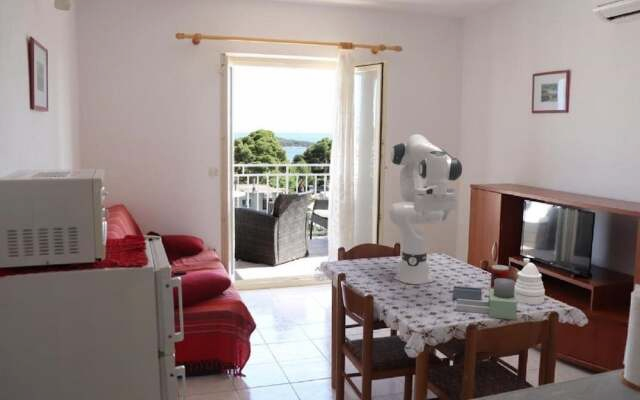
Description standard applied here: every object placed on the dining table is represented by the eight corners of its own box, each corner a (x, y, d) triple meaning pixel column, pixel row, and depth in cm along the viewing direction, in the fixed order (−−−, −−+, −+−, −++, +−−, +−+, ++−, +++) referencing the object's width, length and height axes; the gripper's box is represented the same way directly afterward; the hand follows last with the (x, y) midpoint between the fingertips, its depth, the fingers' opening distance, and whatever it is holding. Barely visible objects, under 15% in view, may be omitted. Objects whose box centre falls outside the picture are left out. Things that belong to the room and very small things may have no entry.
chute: (453, 296, 248) (453, 285, 248) (481, 299, 245) (481, 288, 244) (452, 299, 244) (453, 288, 243) (481, 302, 240) (481, 291, 240)
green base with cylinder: (457, 301, 241) (458, 272, 239) (513, 306, 234) (514, 276, 233) (455, 313, 224) (457, 282, 223) (515, 319, 218) (517, 287, 216)
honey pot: (507, 299, 244) (509, 259, 242) (521, 293, 253) (523, 255, 251) (536, 306, 235) (538, 265, 233) (549, 300, 244) (551, 260, 242)
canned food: (507, 288, 261) (508, 265, 260) (508, 293, 254) (509, 269, 252) (490, 286, 263) (491, 264, 262) (490, 291, 256) (491, 268, 254)
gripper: (451, 187, 245) (450, 218, 247) (412, 189, 237) (411, 221, 238) (460, 189, 239) (459, 220, 241) (421, 190, 231) (420, 223, 233)
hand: (435, 221), depth 240 cm, fingers open, 8 cm apart
